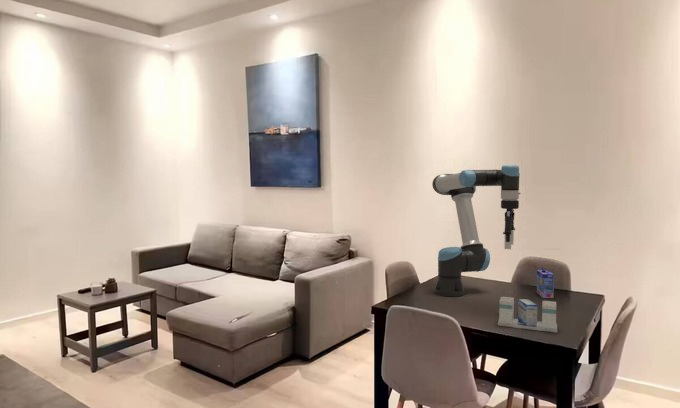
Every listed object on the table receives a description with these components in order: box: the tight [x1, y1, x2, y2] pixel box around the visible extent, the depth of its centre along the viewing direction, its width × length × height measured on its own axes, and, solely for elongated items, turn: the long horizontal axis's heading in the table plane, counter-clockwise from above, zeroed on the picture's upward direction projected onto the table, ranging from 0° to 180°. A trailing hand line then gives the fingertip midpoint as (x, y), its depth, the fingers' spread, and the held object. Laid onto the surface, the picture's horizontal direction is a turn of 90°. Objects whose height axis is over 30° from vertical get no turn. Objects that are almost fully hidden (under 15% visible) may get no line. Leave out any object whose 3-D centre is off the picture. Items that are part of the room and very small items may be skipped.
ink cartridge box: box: [536, 266, 555, 299], centre depth 233 cm, size 10×6×14 cm, turn 174°
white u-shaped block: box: [497, 296, 558, 334], centre depth 188 cm, size 22×8×10 cm, turn 66°
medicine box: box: [517, 298, 538, 326], centre depth 188 cm, size 8×4×9 cm, turn 4°
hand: (509, 246), depth 209 cm, fingers open, 13 cm apart
